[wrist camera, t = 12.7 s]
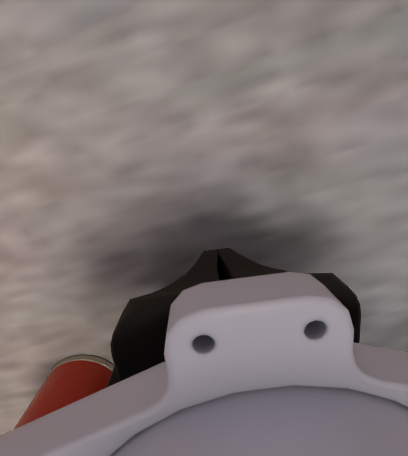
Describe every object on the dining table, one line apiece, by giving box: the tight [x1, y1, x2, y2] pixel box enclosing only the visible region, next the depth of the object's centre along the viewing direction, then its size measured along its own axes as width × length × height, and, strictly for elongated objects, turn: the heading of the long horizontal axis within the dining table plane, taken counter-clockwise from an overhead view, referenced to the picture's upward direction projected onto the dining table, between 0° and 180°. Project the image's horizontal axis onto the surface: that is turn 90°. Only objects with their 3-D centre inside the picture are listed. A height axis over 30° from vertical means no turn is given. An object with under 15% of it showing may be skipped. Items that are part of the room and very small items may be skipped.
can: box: [14, 355, 114, 429], centre depth 14 cm, size 5×5×6 cm
